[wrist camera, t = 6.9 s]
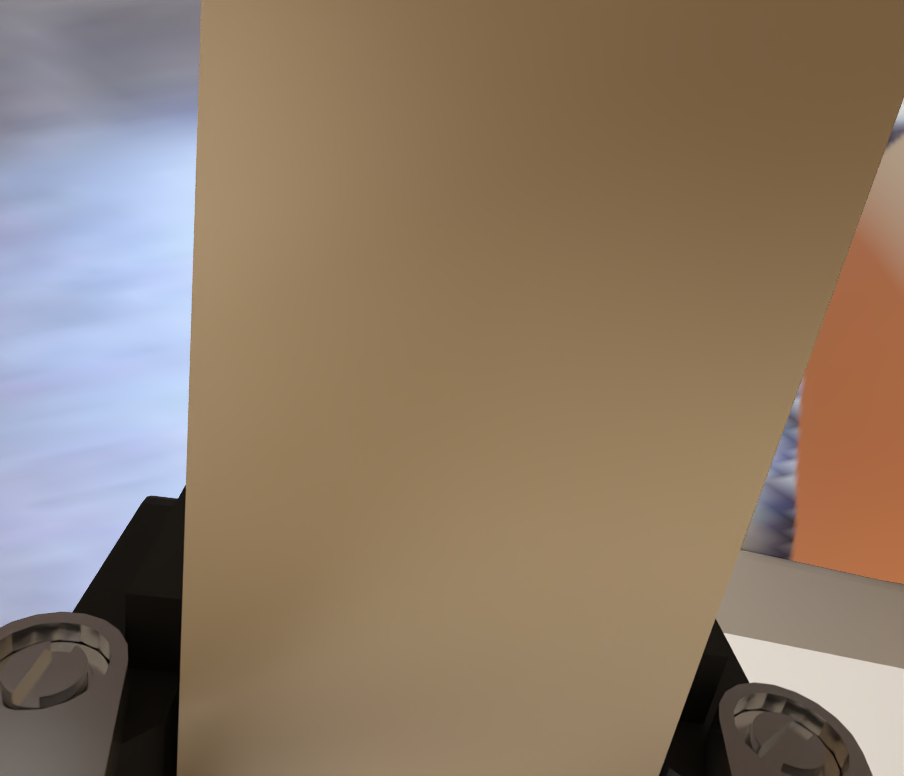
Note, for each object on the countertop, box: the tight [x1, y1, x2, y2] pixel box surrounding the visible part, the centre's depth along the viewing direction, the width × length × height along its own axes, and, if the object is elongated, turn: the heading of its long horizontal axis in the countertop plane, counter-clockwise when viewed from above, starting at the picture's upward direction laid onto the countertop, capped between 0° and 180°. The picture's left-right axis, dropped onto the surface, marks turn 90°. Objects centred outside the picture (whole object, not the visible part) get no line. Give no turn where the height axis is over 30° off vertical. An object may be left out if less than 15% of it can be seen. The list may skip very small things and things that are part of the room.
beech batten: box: [177, 0, 904, 776], centre depth 9 cm, size 24×4×5 cm, turn 171°
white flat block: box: [716, 550, 904, 776], centre depth 33 cm, size 34×5×10 cm
